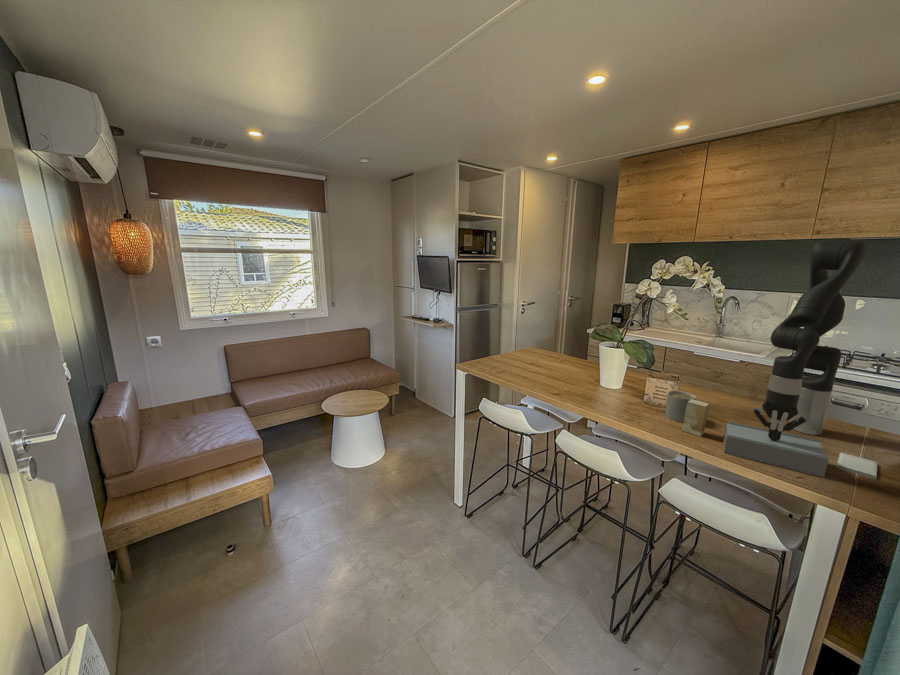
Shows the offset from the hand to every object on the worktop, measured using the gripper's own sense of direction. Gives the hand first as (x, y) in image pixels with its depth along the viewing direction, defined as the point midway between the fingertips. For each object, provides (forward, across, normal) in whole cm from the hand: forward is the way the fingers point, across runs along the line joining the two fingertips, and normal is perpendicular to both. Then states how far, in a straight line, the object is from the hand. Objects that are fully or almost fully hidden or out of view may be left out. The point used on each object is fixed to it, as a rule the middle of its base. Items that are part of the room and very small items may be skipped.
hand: (773, 439), depth 115 cm
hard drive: (+8, -22, -11) cm, 26 cm away
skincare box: (+7, +21, -8) cm, 23 cm away
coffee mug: (+7, +26, -22) cm, 35 cm away
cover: (+1, 0, -2) cm, 2 cm away
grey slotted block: (+7, 0, -2) cm, 7 cm away
